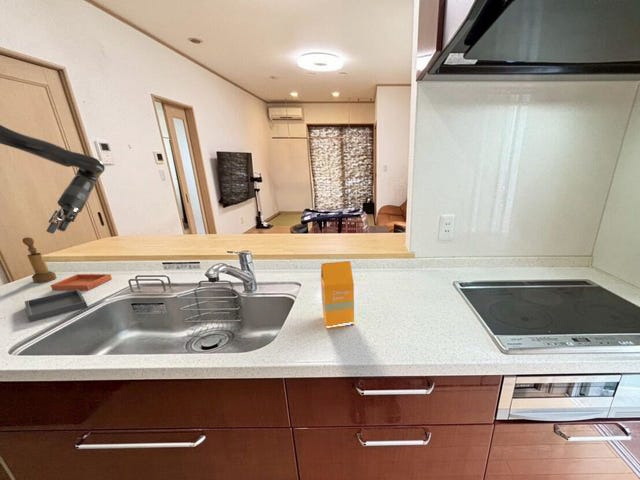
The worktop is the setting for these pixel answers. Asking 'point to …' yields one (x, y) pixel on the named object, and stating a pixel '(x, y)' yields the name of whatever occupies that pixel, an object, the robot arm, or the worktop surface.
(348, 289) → the orange juice
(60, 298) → the grey tray
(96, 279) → the terracotta tray
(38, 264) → the mortar and pestle
